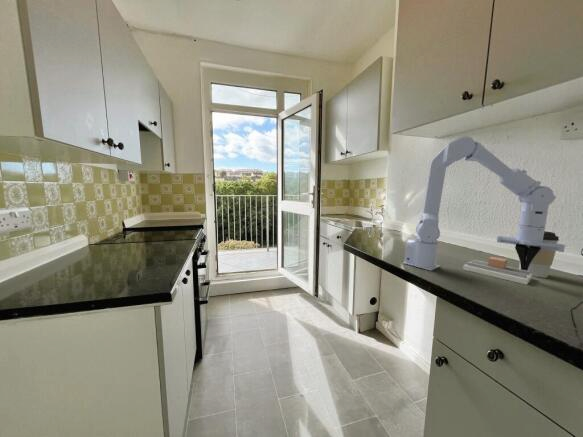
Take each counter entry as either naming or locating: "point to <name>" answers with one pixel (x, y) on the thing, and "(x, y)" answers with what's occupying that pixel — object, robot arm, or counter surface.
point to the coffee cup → (543, 257)
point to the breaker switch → (497, 263)
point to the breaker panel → (499, 271)
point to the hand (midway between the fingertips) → (524, 269)
